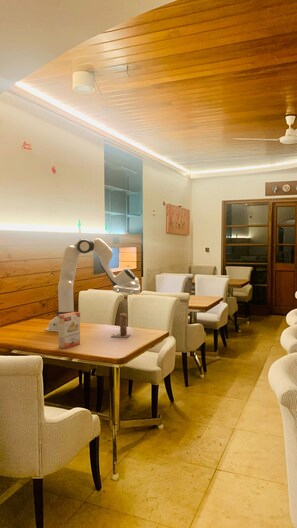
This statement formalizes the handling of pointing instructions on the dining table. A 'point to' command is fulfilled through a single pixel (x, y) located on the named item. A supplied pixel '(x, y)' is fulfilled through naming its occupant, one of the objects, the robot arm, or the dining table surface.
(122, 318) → the walnut tube
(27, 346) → the dining table surface
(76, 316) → the cracker box
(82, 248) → the robot arm
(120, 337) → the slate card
